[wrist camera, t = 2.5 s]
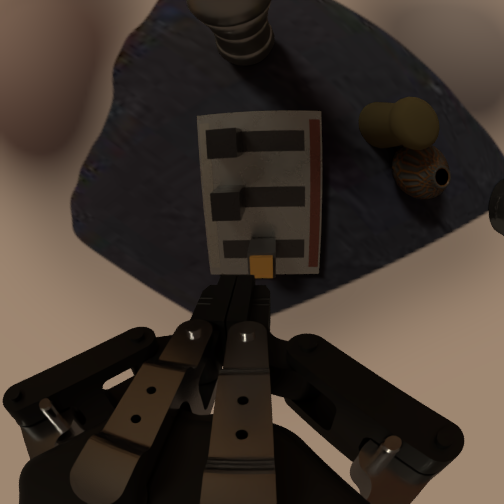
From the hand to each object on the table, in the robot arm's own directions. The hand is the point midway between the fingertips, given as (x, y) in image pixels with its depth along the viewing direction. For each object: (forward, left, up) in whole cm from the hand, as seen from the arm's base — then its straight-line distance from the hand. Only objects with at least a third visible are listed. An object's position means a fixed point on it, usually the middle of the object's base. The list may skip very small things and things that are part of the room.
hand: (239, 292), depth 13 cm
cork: (-15, -9, -23) cm, 29 cm away
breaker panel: (0, 0, -23) cm, 23 cm away
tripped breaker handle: (0, +7, -21) cm, 22 cm away
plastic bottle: (+1, -19, -23) cm, 30 cm away
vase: (-19, -4, -23) cm, 30 cm away
